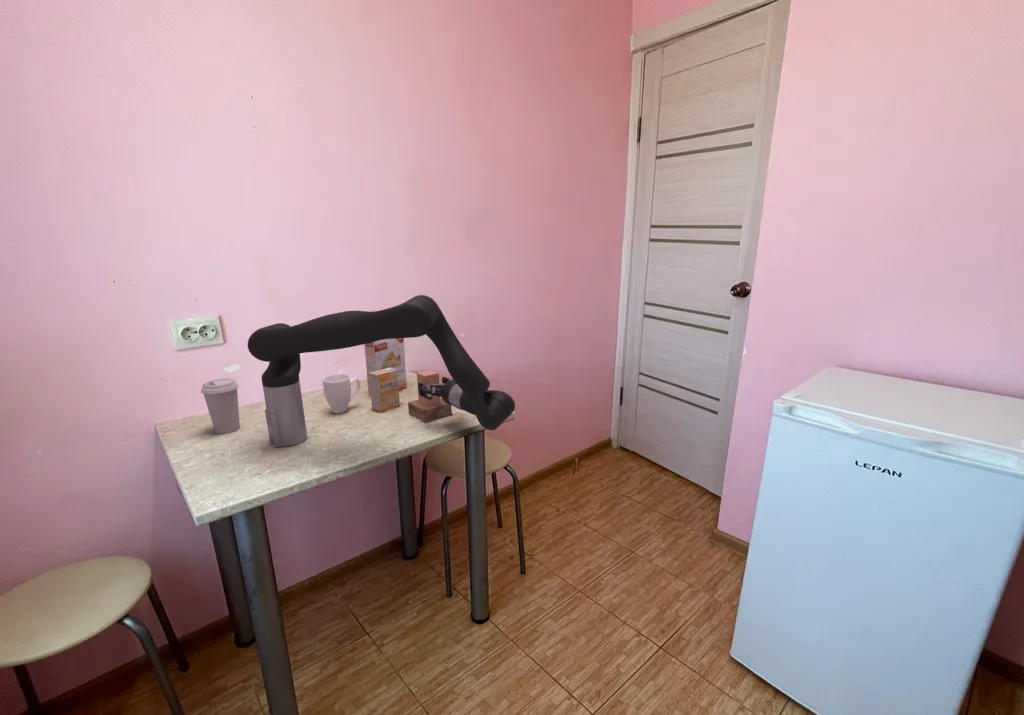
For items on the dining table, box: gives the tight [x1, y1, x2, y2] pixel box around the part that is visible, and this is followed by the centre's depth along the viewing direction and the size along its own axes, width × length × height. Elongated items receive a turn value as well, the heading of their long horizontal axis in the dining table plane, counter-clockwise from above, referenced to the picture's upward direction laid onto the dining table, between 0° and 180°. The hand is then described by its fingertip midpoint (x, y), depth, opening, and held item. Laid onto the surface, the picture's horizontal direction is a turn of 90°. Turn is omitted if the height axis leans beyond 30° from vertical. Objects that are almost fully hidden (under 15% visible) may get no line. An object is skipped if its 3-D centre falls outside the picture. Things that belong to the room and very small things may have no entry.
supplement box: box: [369, 368, 401, 413], centre depth 154 cm, size 8×5×13 cm, turn 143°
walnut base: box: [407, 397, 453, 424], centre depth 149 cm, size 10×10×4 cm
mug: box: [322, 374, 361, 414], centre depth 153 cm, size 12×8×11 cm
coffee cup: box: [200, 377, 241, 435], centre depth 138 cm, size 10×10×15 cm
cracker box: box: [363, 338, 408, 397], centre depth 169 cm, size 14×6×21 cm, turn 147°
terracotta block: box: [416, 369, 441, 407], centre depth 147 cm, size 5×5×10 cm
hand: (431, 382), depth 145 cm, fingers open, 8 cm apart
